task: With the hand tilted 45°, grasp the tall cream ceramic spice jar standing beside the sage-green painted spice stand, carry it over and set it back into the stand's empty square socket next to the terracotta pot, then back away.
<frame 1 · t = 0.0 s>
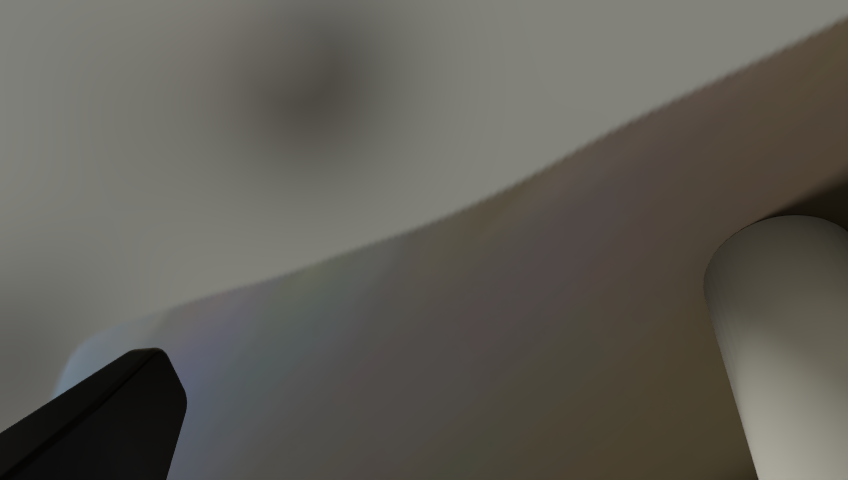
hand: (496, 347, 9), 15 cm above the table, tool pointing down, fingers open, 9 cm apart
spice jar: (782, 280, 25), on the table
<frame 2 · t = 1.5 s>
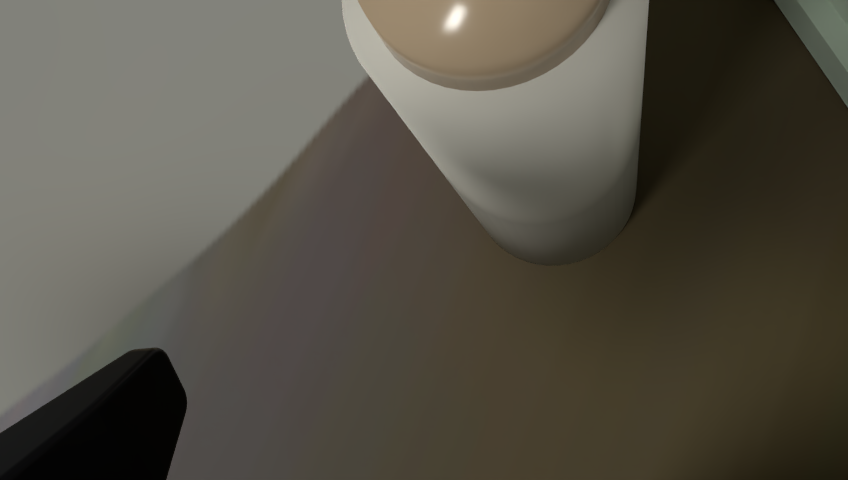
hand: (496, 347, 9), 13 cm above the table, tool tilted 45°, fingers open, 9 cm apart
spice jar: (553, 187, 23), on the table
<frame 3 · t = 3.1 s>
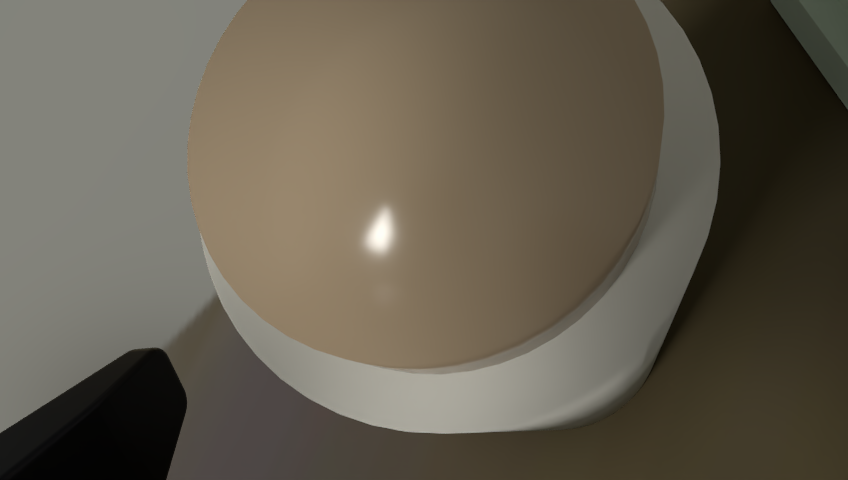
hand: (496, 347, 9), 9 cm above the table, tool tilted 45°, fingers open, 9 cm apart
spice jar: (553, 324, 18), on the table
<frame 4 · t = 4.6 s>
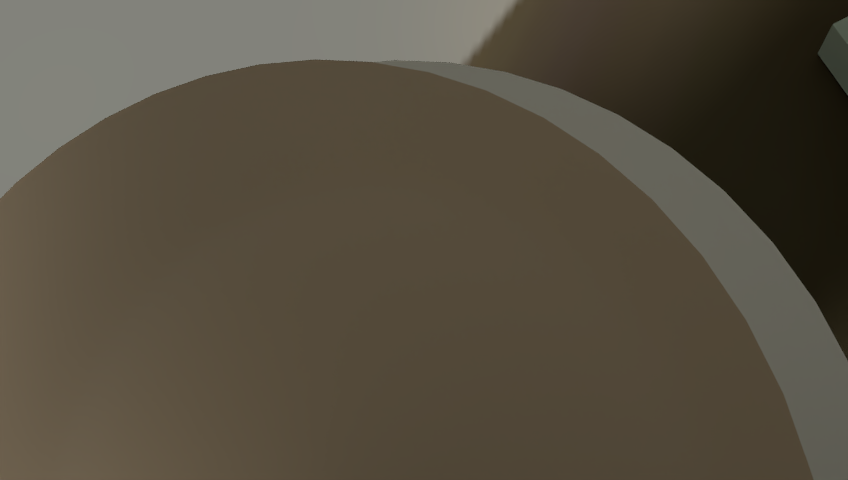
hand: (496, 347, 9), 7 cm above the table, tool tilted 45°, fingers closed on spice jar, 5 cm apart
spice jar: (554, 449, 15), on the table, touching gripper
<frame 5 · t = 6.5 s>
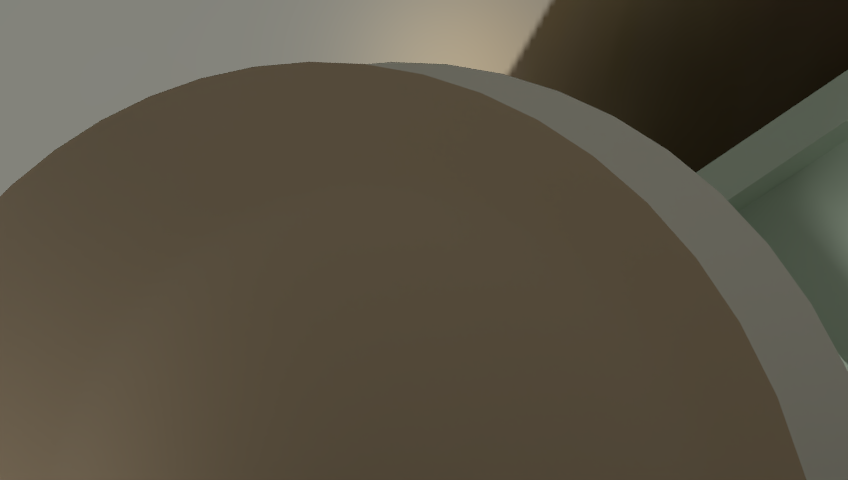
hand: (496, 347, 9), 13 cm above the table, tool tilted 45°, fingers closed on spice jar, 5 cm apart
spice jar: (553, 450, 15), point 6 cm above the table, touching gripper
when the fingers open (9 cm above the table, at t = 8.4 s): spice jar drops 1 cm, resting on spice stand.
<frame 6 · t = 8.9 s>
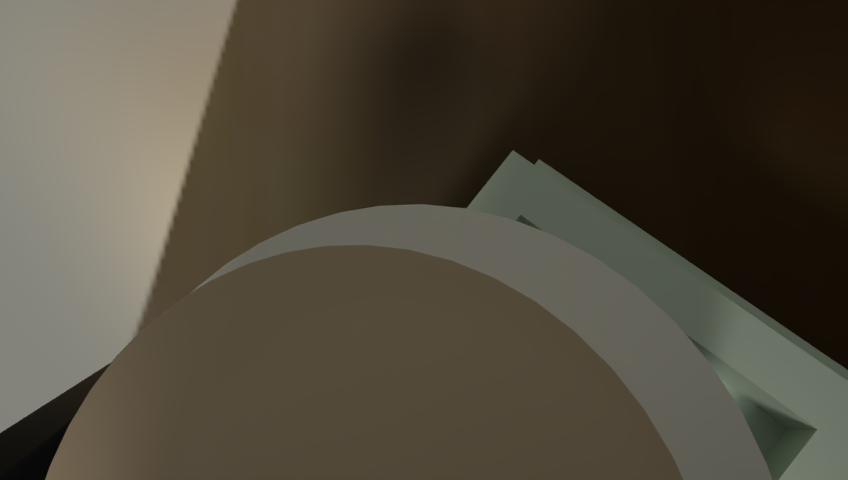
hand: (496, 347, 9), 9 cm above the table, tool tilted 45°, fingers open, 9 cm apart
spice jar: (560, 450, 16), point 1 cm above the table, touching spice stand
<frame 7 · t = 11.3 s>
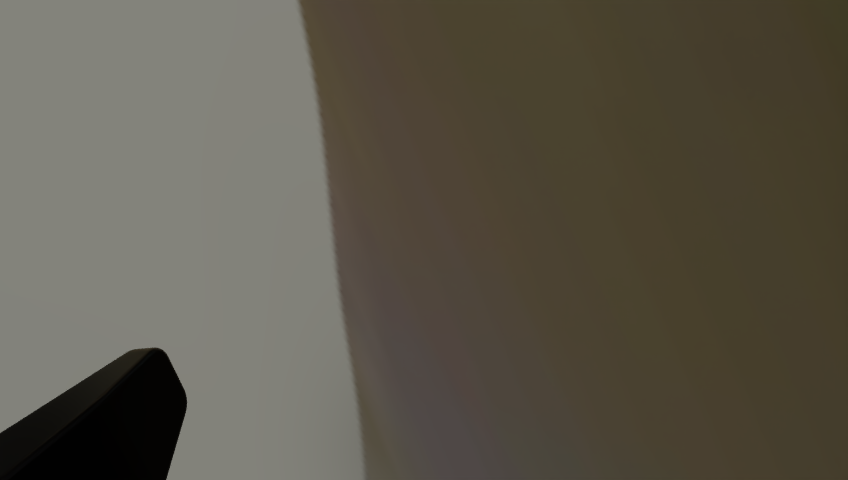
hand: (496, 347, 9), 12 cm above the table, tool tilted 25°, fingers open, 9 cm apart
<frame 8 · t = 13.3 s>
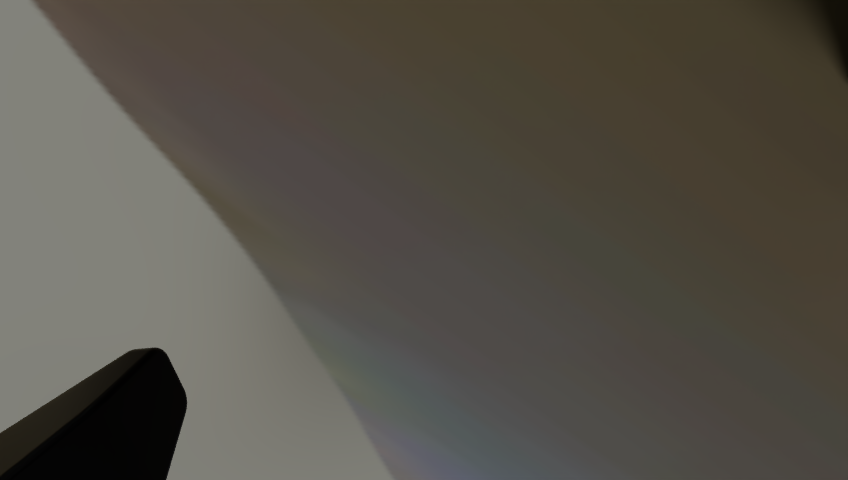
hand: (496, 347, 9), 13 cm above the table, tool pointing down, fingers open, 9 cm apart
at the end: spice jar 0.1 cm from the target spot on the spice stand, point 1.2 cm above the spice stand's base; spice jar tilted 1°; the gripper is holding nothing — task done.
